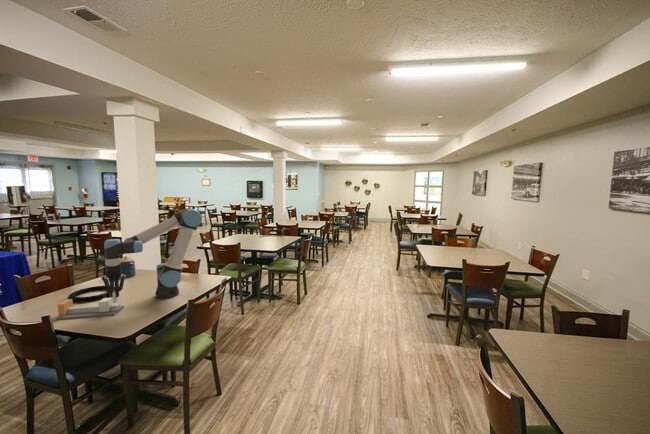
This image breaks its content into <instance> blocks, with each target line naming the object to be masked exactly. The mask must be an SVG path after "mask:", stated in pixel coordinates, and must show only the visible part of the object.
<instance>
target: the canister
mask: <svg viewBox="0 0 650 434" xmlns="http://www.w3.org/2000/svg"><path fill="white" fill-rule="evenodd" d="M134 260H135V259H134V258H133V257H128V256H124V257H123V258H120V262H121V263H120V265H121V272H122V274H123V275H126V277H125V279H129V278H132V277H135V276H136V275H137V274H136V264H135V263H136V262H135V261H134ZM119 279H121V276H120V277H119Z"/></svg>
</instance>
